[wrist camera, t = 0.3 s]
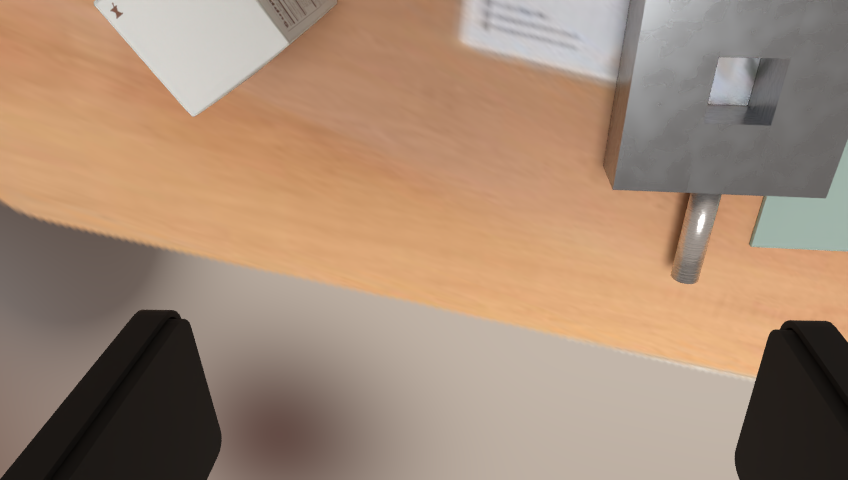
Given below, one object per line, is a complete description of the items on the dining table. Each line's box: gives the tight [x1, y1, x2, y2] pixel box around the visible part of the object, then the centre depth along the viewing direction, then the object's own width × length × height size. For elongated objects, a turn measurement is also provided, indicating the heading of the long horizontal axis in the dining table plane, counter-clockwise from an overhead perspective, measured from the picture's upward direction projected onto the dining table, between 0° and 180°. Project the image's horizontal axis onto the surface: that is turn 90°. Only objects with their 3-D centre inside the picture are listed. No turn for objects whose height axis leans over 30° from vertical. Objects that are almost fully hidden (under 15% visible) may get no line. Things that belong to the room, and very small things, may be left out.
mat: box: [749, 140, 848, 251], centre depth 45 cm, size 10×10×1 cm
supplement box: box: [94, 0, 337, 116], centre depth 36 cm, size 7×7×13 cm
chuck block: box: [603, 0, 848, 284], centre depth 42 cm, size 22×14×4 cm, turn 0°
